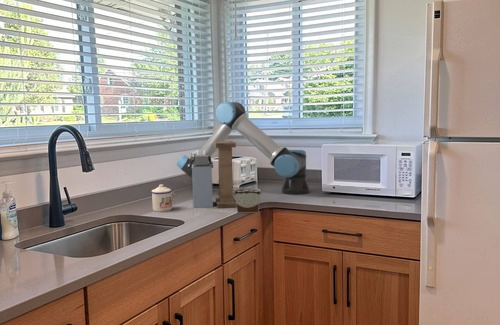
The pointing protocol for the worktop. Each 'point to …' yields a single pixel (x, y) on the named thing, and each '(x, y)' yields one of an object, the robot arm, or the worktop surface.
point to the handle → (201, 159)
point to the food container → (247, 200)
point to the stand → (225, 174)
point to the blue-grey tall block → (202, 185)
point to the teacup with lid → (162, 199)
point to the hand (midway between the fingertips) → (200, 152)
